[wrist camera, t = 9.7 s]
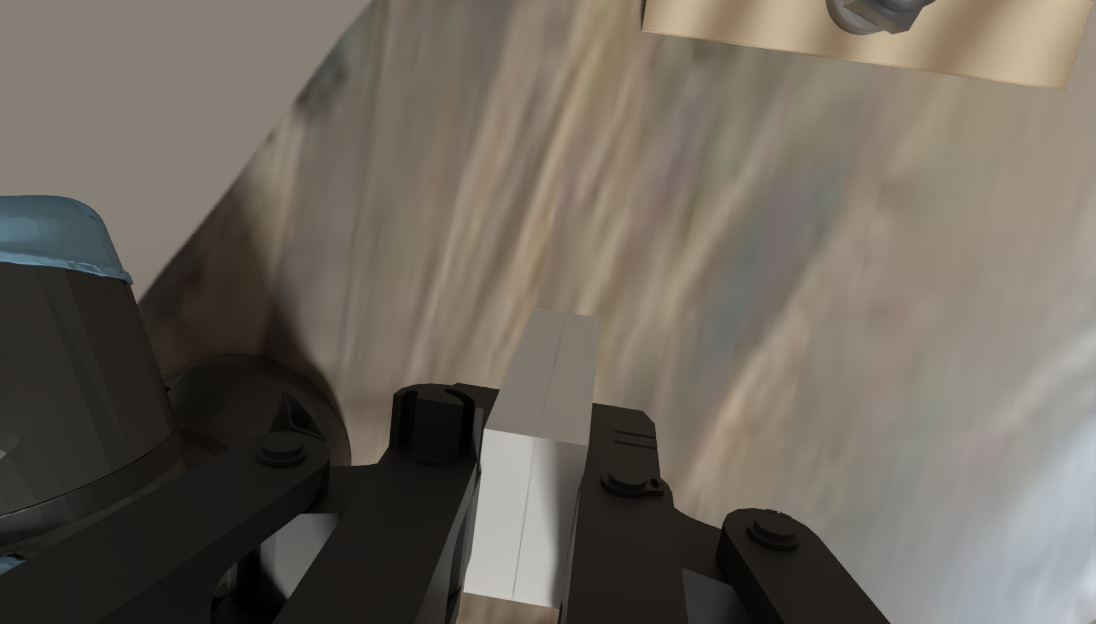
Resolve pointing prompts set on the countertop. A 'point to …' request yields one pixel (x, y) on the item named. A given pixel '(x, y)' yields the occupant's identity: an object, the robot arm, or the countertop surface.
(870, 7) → the lever
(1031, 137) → the countertop surface
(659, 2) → the board
